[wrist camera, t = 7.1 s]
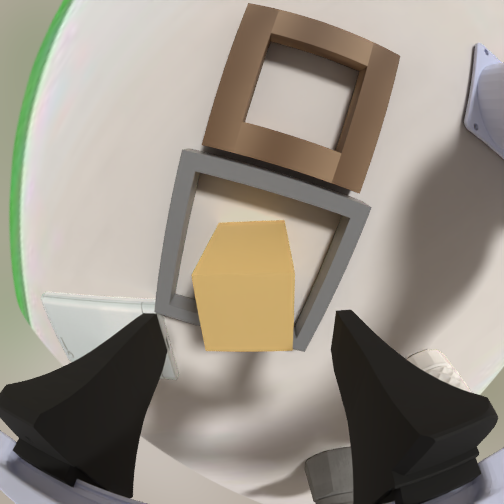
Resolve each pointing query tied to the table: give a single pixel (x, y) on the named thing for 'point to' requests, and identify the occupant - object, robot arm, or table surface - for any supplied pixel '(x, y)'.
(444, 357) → the white cup
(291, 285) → the peg
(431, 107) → the table surface
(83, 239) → the table surface
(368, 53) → the socket block
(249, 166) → the gray square frame
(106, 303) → the hard drive
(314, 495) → the coffeepot
